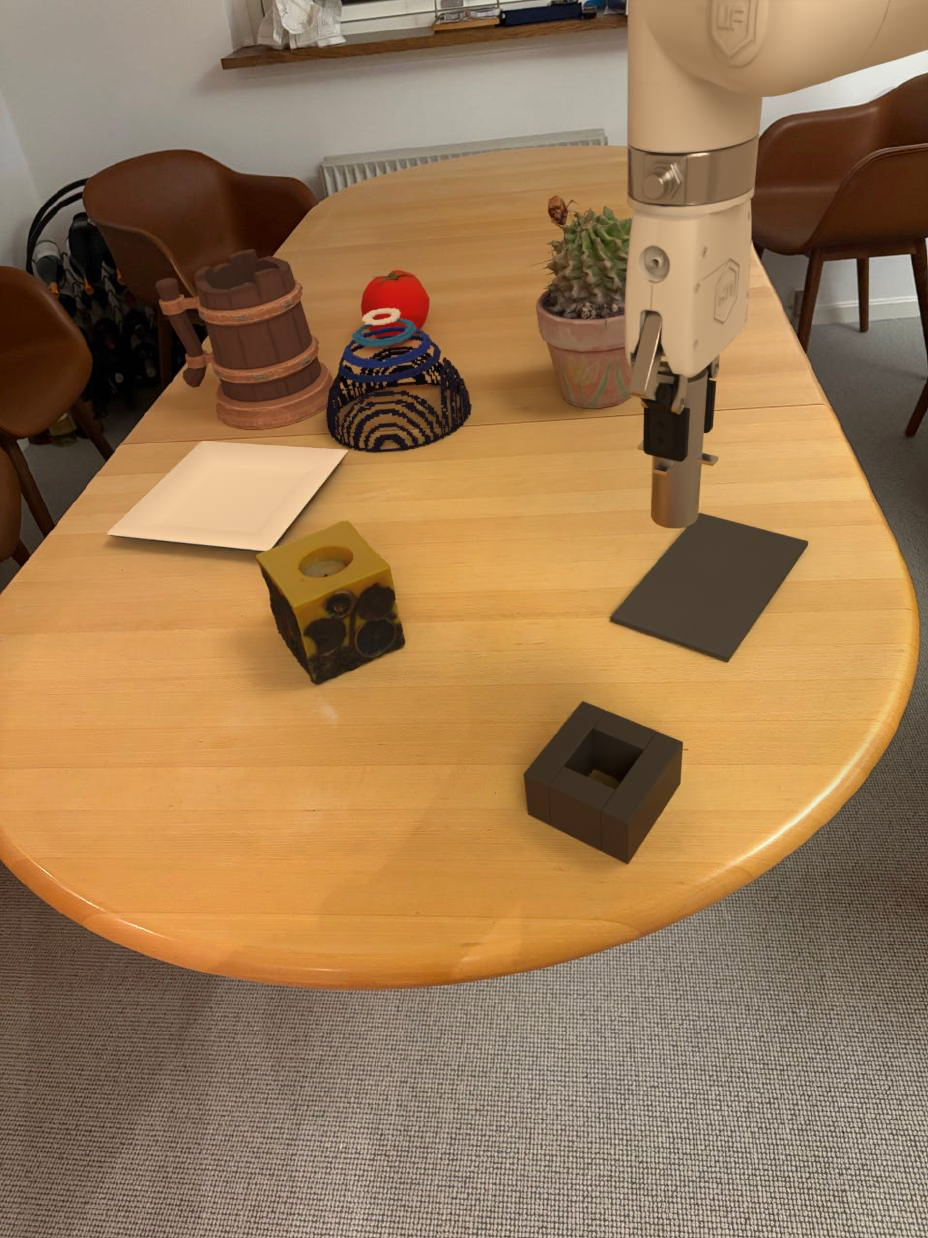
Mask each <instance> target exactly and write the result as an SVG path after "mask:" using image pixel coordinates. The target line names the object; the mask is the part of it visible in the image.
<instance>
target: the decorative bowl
mask: <svg viewBox="0 0 928 1238" xmlns="http://www.w3.org/2000/svg"><path fill="white" fill-rule="evenodd" d="M385 313H389V314H390V315H391V317H388V318H384V319H380V320H374V319H373V318H372V317H374V316H375V315H377V314H385ZM399 317H400V312H399V309H398V310H397V309H395V308H392V309H390V308H385V309H378V310H372V311H369V313H367V314H366V315H364V317H362V323H363V322H364V324H362V325H361V326H359V328H358V329H356V330H355V332H352V334H351V338H352V339H351V341H350V342H349V343H348V344H347V345H346V346H345V347H344V349H343V352H342V356H341V357H340V360H339V363H338V369H337V374H336V376H335V377H334V378H333V379H334V382H333V384H332V386H331V387H330V389H329V392H328V393H329V395H328V403H327V405H328V406H327V407H326V409H325V410H326V411H325V418H326V426H327V430H328V433H329V435H330V438H331V439H334V442H336V443H338V444H339V445H342V447H345V448H347V449H353V450H354V451H358V452H362V451H365V452H367V453H373V454H375V453H387V452H388V453H389V452H400V451H401V452H403V451H409V450H415V449H416V448H420V447H426V446H428V445H429V446H430V444H432V443H436V442H438V441H440V440H444V439H445V437H447V436H451V434H453V433H456V432H457V431H458V430H459V429H460V428H461V427H463V426H464V424H465V422H467V420H469V416H471V413H472V404H471V399H470V393H469V390H468V389H467V386H466V382H465V379H464V378H463V377H461V375H460V372H459V370H458V369H457V368H456V367H455V365H454V364H453V363H452V361H451V360H450V359H447V357H446V356H444V357H443V358H442V362H441V361H440V360H441V354H442V350H441V349H440V347H439V345H438V344H437V343H435V341H433V340H432V339H431V336H430V335H429V334H427V333H426V332H424V330H421V329H420V330H419V329H417V327H415V325H414V323H412V321H409V320H407V319H406V320H404V319H399ZM390 322H399V323H402V324H403V323H404V324H405V325H406V327H401V326H399V327H388V328H382V329H378V330H374V331H370V330H369V331H367V332H366V331H365V330H367V329H369V328H368V327H371V326H374V325H384V324H386V323H390ZM366 324H367V325H366ZM364 331H365V332H364ZM398 331H400V332H404V333H402V334H400V335H392V336H383V337H378V338H377V337H375V338H371V337H374V336H375V335H377V334H385V333H387V332H398ZM414 333H416V334H415V335H413V334H414ZM408 340H409V341H419V342H420V343H419V344H418V346H417V347H413V346H412V345H410V346H407V345H402V346H392V347H391V345H395V344H400V343H402V342H405V341H408ZM354 345H355V346H354ZM385 346H389V347H387V348H382V350H379V351H378V352H374V353H373V355H372V356H369V357H365V358H363V357H361V356H359V355H356V354H354V353H355V352H358V350H362V349H364V348H365V347H371V348H373V347H374V348H375V347H385ZM431 347H432V349H433V351H432V354H431V352H428V350H430V349H431ZM344 362H346V363H348V364H349V365H348V364H344ZM352 366H355V367H357V368H360V372H357V373H355V372H354V370H353V368H352ZM390 369H391V370H390ZM389 370H390V371H389ZM387 372H388V373H387ZM437 374H438V375H437ZM426 376H428V378H430V382H429V380H427V377H426ZM433 377H434V378H433ZM438 377H439V379H438ZM407 379H412V380H413V381H404V382H402V381H403V380H407ZM348 381H351V382H350V383H348ZM400 381H401V382H400ZM384 383H385V384H384ZM341 384H342V386H343V388H342V387H341ZM357 385H358V386H357ZM426 385H427V386H432V387H439V394H440V395H439V397H440V406H442V407H440V410H441V419H440V413H438V410H435V406H433V405H432V404H430V403H428V400H427V399H425V398H424V397H423V398H421V396H419V394H413V393H412V394H410V391H408V390H407V389H403V390H400V391H395V390H394V389H391V390H385V389H389V388H399V387H402V386H403V387H405V386H426ZM364 386H365V388H364ZM448 391H449V392H448ZM334 392H335V393H334ZM352 392H353V394H352ZM446 393H449V400H448V394H446ZM397 395H399V396H400V397H406V398H411V400H413V401H409V402H408V400H404V399H403V398H398V399H397V398H396V400H385V401H384V400H383V401H373V400H372V401H366V400H369V399H370V398H372V397H373V398H385V397H395V396H397ZM355 401H356V402H355ZM448 401H449V403H448ZM458 401H459V402H458ZM350 403H353V404H352V405H351V406H350V407H349V408H348V410H347V411H346V412H345V414H344V415H343V419H342V422H340V415H339V414H340V413H341V411H342V410H343V409H344V408H345V407H347V406H348V405H349V404H350ZM364 403H365V404H364ZM458 403H459V405H458ZM391 404H394V405H395V406H400V408H402V409H403V408H404V409H405V410H407V411H408V412H409V413H414V415H416V416H417V417H419V418H420V419H421V420H423V423H424V424H426V427H429V428H428V429H429V433H427V430H426V429H424V427H421V424H420V423H419V422H417V421H416V420H414V418H412V417H409V415H407V412H405V411H404V410H402V411H401V409H396V407H392V408H378V409H374V411H372V408H375V407H376V406H381V405H391ZM415 404H418V405H415ZM448 404H449V406H448ZM453 404H454V405H453ZM356 406H359V407H357V409H355V407H356ZM417 406H420V408H422V409H423V410H421V409H419V407H417ZM424 410H425V411H424ZM449 410H450V418H449ZM367 411H371V412H370V413H366V414H365V416H363V417H362V418H360V420H358V421H357V422H356V423H355V420H357V418H358V417H359V416H360V415H361V414H362V415H363V412H364V413H365V412H367ZM426 411H427V412H426ZM354 412H355V413H354ZM352 413H353V414H352ZM447 413H448V414H447ZM390 414H391V417H396V416H397V418H402V420H405V419H406V424H408V425H409V426H411V427H413V429H416V430H418V434H421V435H420V436H421V438H423V441H422V442H421V443H419V439H418V436H417V437H416V435H414V432H413V431H411V430H409V429H408V428H407V427H406V426H404V425H400V424H399V423H397V422H396V421H394V422H381V423H378V424H377V425H374V427H370V429H369V431H367V433H365V435H364V439H363V440H362V441H363V446H364V447H361V446H360V442H361V439H362V435H363V431H364V429H365V426H366V424H368V423H369V422H371V421H372V420H375V418H380V417H381V416H386V415H387V416H388V415H390ZM427 414H428V415H429V416H430V417H431V416H432V418H434V419H435V421H433V420H431V419H430V420H429V416H427ZM351 415H352V416H351ZM348 419H349V420H348ZM450 421H451V422H450ZM434 422H435V425H437V428H438V429H440V433H438V431H437V430H435V425H434ZM443 422H444V424H443ZM345 424H346V425H345ZM450 424H451V426H450ZM354 425H355V427H354V431H353V433H352V434H353V435H352V434H351V430H353V427H352V426H354ZM386 428H387V429H388V428H396V429H397V430H399V431H401V433H405V434H406V436H408V437H409V438H410V440H411V444H408V443H406V438H404V437H403V436H401V435H400V434H399V433H398V432H397V433H384V434H379V436H376V437H375V438H373V439H374V440H373V442H372V446H371V447H370V444H369V443H370V442H371V438H372V436H371V435H375V433H376V432H377V431H380V429H386ZM340 432H341V433H340ZM345 434H346V435H345ZM429 434H430V435H429ZM431 435H432V436H431ZM351 438H352V439H351ZM346 440H347V441H346ZM351 440H352V443H353V445H352V443H351ZM389 441H390V442H391V441H392V443H394V444H395V445H397V446H399V447H395V448H382V446H383V445H384V444H385V443H386V442H389Z"/></svg>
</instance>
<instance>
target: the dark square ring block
mask: <svg viewBox="0 0 928 1238" xmlns="http://www.w3.org/2000/svg"><path fill="white" fill-rule="evenodd" d="M683 751H684V741H683V740H680V739H677V738H675V737H673V736H671V735H667V734H665V733H662V732H660V731H657V730H656V729H653V728H650V727H648V726H646V725H643V724H641V723H638V722H636V721H633V720H631V719H628V718H626V717H624V716H621V715H618V714H616V713H613V712H611V711H609V710H606V709H604V708H601V707H599V706H596V705H594V704H591V703H590V702H587V701H584V700H581V702H580V703H579V704H578V705H577V707H576V708H575V709H574V710H573V712H572V713H570V715H569V717H567V719H566V721H565V722H564V723H563V724H562V726H561V727H560V728H559V729H558V730H557V731H556V733H555V734H554V735H553V737H552V738H551V739H550V740H549V742H548V743H547V744H546V745H545V746H544V748H543V749H542V750H541V751H540V753H539V754H537V756H536V758H535V759H534V760H533V761H532V763H530V765H529V766H528V767H527V769H526V770H525V771H524V772H523V784H524V793H525V799H526V800H525V801H526V808H527V815H528V816H530V817H531V818H534V819H537V820H538V821H540V822H542V823H544V824H546V825H548V826H550V827H552V828H554V829H555V830H557V831H559V832H561V833H563V834H566V835H568V836H570V837H571V838H574V839H575V840H578V841H579V842H582V843H583V844H586V845H587V846H589V847H591V848H594V849H596V850H597V851H599V852H602V853H604V854H606V855H608V856H610V857H612V858H614V859H616V860H618V861H620V862H622V863H624V864H626V865H628V864H630V862H631V861H632V859H633V858H634V856H635V855H636V853H637V851H638V850H639V849H640V847H641V845H642V844H643V842H644V841H645V839H646V838H647V836H648V835H649V833H650V831H651V830H652V828H653V827H654V825H655V824H656V822H657V821H658V819H659V817H660V816H661V814H662V813H663V811H664V810H665V808H666V807H667V805H668V804H669V802H670V801H671V799H672V798H673V796H674V795H675V793H676V792H677V790H678V788H679V787H680V785H681V783H682V780H681V779H682V769H683V768H682V767H683V765H682V764H683V753H684V752H683ZM594 770H595V771H597V772H600V773H602V774H604V775H606V776H608V777H610V778H613V779H615V780H618V781H620V783H619V784H618V785H617V787H616V789H614V788H612V787H610V786H608V785H606V784H604V783H601V782H600V781H597V780H595V779H592V778H591V777H589V776H590V775H591V774H592V772H593V771H594Z"/></svg>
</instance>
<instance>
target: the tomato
mask: <svg viewBox="0 0 928 1238" xmlns="http://www.w3.org/2000/svg"><path fill="white" fill-rule="evenodd" d="M385 308H390V309H392V308H395V309H397V310H398V309H399V312H400V317H399V319H404V320H406V319H407V320H409V321H412V323H414V325H415V327H417V329H419V330H421V328H423V327H424V324H425V323H426V321H427V318H428V314H429V310H430V297H429V294H428V293H427V291H426V289H425V287H424V286H423V284H422V282H421V281H420V280H419V279H418V278H417V276H416V275H415V274H414V273H411V272H408V271H405V270H401V269H395V270H392V271H390V272H389V273H388V274H387V275H378V276H375V277H373V278H372V279H371V281H369V282H368V284H367V285H366V287H365V289H364V290H363V291H362V297H361V303H360V310H361V315H362V316H361V317H362V318H363V317H364V315H366V314H367V313H369V311H372V310H378V309H385ZM388 317H391V315H390V314H389V313H385V314H377V315H375V316H374V317H372V318H373V319H374V320H380V319H384V318H388ZM365 325H367V324H365ZM399 326H401V327H406V325H405V324H404V323H403V324H402V323H399V322H390V323H386V324H384V325H374V326H371V327H368V328H367V329H368V330H369V332H370V331H374V330H378V329H382V328H388V327H399ZM402 333H404V332H400V331H398V332H387V333H385V334H377V335H374V337H375V338H378V337H383V336H392V335H400V334H402ZM413 335H415V336H416V335H417V333H414V334H413Z"/></svg>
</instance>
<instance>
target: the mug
mask: <svg viewBox="0 0 928 1238" xmlns="http://www.w3.org/2000/svg"><path fill="white" fill-rule="evenodd" d="M226 257H227V261H225V262H223V263H219V264H216V265H215V266H213V267H212V266H209V265H204V266H202V267H200V268H199V269H198V270H197V271H196V272H195V274H194V276H193V277H194V283H195V288H196V291H197V296H195V297H185V295H184V294H181V293H180V290H179V285H178V280H177V279H176V278H175V277H167V278H162V279H160V280H158V281H156V283H155V289H156V291H157V293H158V295H159V297H160V299H158V304H159V306H160V309H161V311H162V314H163V315H167V317H168V320H169V322H170V325H171V326H172V328H173V329H174V331H175V333H176V335H177V337H178V339H180V342H181V343H182V345H183V347H184V348H185V350H186V354H184V356H185V357H184V358H185V362H186V364H187V368H185V370H183V371H182V379H183V381H184V382H185V383H186V385H188V386H190V387H191V388H193V389H194V388H199V387H200V386H201V384H202V383H203V381H204V379H205V377H206V373H207V368H208V365H210V364H211V367H212V370H213V373H214V375H215V377H217V378H219V382H220V384H218V385H217V388H216V391H215V393H214V394H215V398H216V402H217V403H216V405H215V410H216V411H215V412H216V415H217V417H218V420H220V421H221V422H222V423H224V424H225V425H226V426H230V427H233V428H236V429H242V430H265V429H273V428H281V427H284V426H287V425H291V424H295V423H298V422H301V421H304V420H306V419H308V418H310V417H312V416H315V415H317V414H318V413H320V412H321V411H323V410H325V408H326V409H327V406H328V405H327V403H328V395H329V393H328V392H329V389H330V387H331V386H332V384H333V382H334V379H335V378H334V377H333V375H332V374H331V371H330V369H329V367H328V366H327V364H325V363H324V362H321V361H319V357H318V355H319V350H320V347H319V344H320V341H319V339H318V338H317V337H316V336H315V335H314V334H313V333H311V330H310V327H309V323H308V320H307V317H306V313H305V310H304V306H303V302H302V301H301V300H302V296H303V290H304V287H303V285H302V283H300V282H299V281H298V280H297V279H296V278H295V277H294V274H293V270H292V268H291V265H290V263H289V262H288V261H287V260H284V259H282V258H278V257H274V256H272V255H267V256H264V257H261V258H258V255H257V252H256V249H255V248H252V249H244V250H239V251H236V252H233V253H231V254H228V255H226ZM189 309H197V311H198V317H200V319H201V320H203V321H204V323H205V327H206V331H207V335H208V339H209V343H210V347H211V352H208V351H207V350H204V349H203V345H202V342H201V340H200V339H199V336H198V334H197V333H196V330H195V328H194V326H193V324H192V322H191V320H190V317H189V316H188V314H187V310H189ZM334 393H335V392H334Z"/></svg>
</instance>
